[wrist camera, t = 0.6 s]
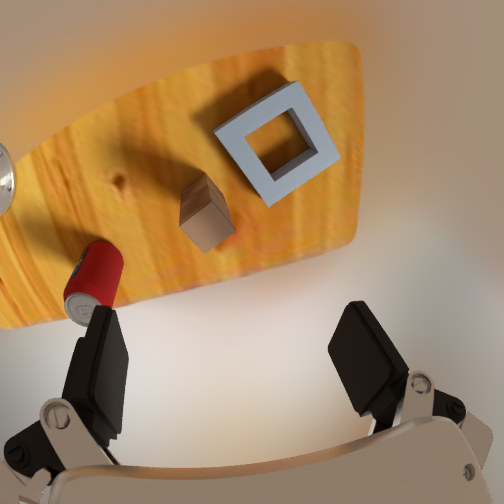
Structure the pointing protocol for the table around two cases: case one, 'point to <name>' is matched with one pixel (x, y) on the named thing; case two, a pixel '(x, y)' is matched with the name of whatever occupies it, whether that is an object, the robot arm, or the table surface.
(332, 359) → the robot arm
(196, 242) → the walnut peg
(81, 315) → the beverage can
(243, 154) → the grey square frame
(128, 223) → the table surface
